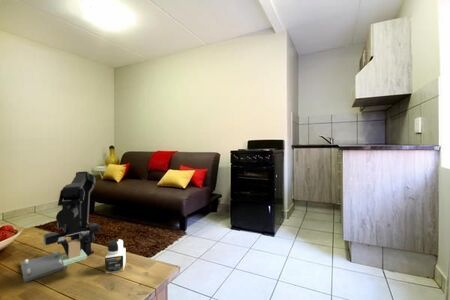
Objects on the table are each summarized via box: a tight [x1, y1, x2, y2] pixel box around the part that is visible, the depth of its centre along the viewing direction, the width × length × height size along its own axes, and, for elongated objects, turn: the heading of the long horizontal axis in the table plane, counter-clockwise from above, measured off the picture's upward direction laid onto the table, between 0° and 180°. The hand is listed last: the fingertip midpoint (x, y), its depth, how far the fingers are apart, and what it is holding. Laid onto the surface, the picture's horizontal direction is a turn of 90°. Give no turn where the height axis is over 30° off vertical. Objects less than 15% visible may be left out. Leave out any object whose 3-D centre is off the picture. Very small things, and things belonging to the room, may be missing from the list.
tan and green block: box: [60, 239, 88, 266], centre depth 92 cm, size 8×8×7 cm
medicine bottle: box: [104, 238, 127, 274], centre depth 97 cm, size 7×7×12 cm
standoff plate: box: [20, 250, 68, 283], centre depth 98 cm, size 18×14×3 cm
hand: (73, 253), depth 92 cm, fingers closed on tan and green block, 4 cm apart
